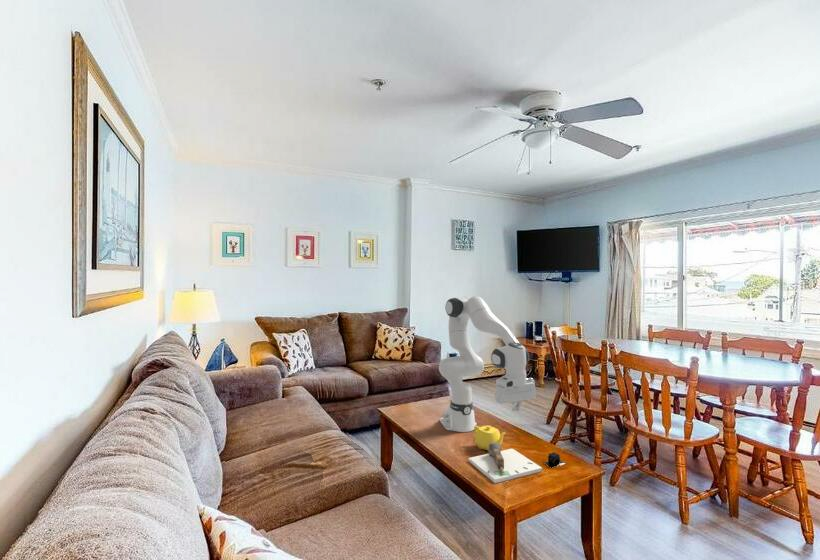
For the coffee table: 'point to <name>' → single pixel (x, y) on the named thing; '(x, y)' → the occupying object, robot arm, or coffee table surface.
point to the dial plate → (505, 466)
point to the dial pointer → (497, 455)
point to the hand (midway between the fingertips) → (515, 410)
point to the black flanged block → (554, 460)
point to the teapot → (487, 436)
